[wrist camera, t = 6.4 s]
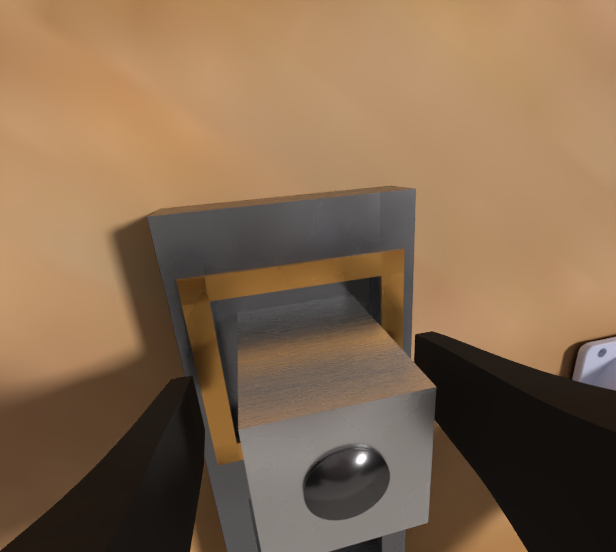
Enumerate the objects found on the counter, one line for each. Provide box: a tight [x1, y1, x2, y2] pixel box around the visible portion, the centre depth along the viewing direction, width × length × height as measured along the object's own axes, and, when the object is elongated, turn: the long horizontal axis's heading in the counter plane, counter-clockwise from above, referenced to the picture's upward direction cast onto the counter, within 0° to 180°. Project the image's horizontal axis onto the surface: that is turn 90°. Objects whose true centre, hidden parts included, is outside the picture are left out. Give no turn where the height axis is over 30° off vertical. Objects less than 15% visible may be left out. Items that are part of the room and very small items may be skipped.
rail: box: [147, 186, 416, 552], centre depth 15 cm, size 8×28×2 cm, turn 4°
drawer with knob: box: [237, 295, 436, 552], centre depth 10 cm, size 4×4×6 cm
